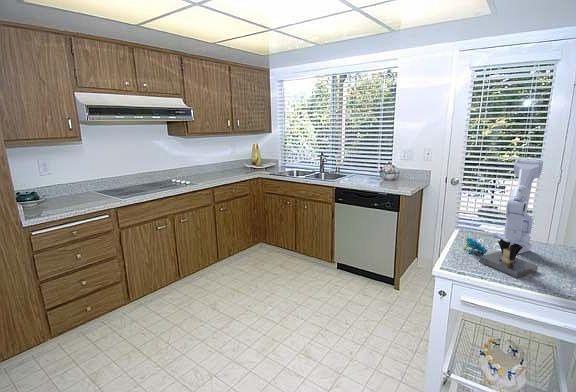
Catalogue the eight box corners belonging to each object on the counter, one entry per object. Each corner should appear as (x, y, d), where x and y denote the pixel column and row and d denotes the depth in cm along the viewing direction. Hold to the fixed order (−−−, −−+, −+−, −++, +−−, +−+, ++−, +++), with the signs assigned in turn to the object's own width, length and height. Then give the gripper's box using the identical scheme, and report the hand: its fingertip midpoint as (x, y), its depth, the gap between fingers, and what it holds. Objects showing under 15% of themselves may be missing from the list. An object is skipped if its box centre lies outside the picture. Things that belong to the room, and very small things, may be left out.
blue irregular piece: (492, 253, 143) (478, 239, 141) (483, 263, 143) (469, 249, 141) (475, 247, 154) (462, 234, 152) (467, 256, 154) (454, 242, 152)
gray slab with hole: (498, 256, 143) (499, 251, 143) (536, 271, 129) (537, 265, 128) (479, 261, 138) (479, 256, 138) (516, 277, 124) (517, 272, 124)
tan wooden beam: (507, 262, 135) (509, 247, 134) (513, 264, 133) (516, 249, 131) (501, 263, 134) (503, 248, 132) (507, 266, 132) (509, 251, 130)
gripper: (489, 224, 135) (485, 253, 138) (525, 235, 122) (520, 267, 125) (500, 222, 137) (496, 250, 141) (536, 232, 124) (531, 264, 128)
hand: (508, 258), depth 133 cm, fingers closed on tan wooden beam, 3 cm apart
